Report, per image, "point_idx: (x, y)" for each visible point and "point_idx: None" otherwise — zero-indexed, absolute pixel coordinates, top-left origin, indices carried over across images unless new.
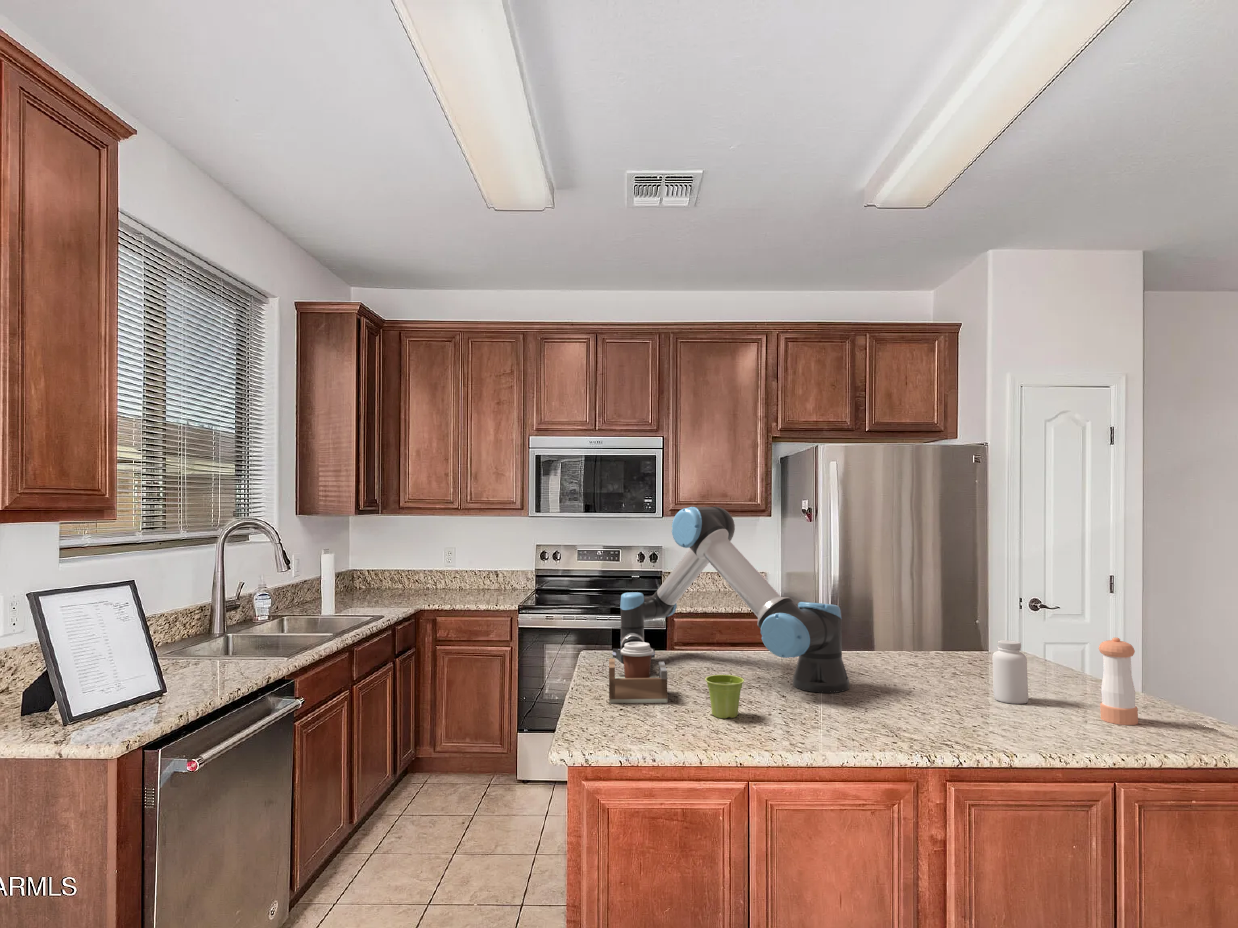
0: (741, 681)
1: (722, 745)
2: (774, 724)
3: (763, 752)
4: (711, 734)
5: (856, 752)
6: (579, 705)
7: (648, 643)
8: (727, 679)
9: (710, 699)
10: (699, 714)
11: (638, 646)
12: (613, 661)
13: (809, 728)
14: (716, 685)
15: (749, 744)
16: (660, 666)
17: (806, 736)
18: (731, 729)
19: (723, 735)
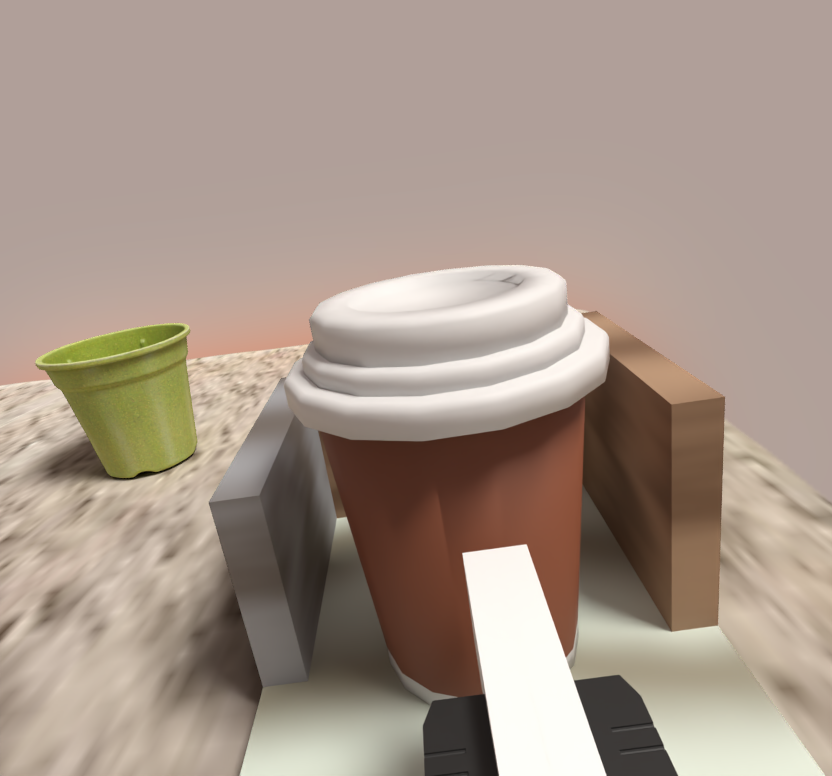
0: (53, 363)
1: (270, 361)
2: (68, 435)
3: (210, 359)
4: (268, 382)
5: (49, 381)
6: (733, 448)
7: (319, 312)
8: (71, 378)
9: (189, 399)
10: (235, 452)
11: (420, 274)
12: (631, 363)
13: (7, 431)
14: (174, 332)
15: (214, 370)
16: (289, 419)
17: (64, 405)
18: (204, 402)
19: (243, 383)
